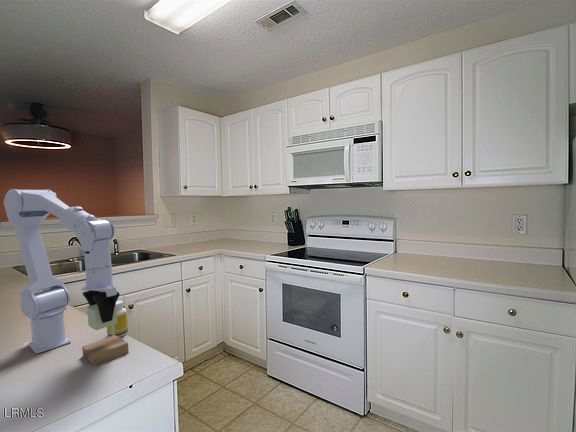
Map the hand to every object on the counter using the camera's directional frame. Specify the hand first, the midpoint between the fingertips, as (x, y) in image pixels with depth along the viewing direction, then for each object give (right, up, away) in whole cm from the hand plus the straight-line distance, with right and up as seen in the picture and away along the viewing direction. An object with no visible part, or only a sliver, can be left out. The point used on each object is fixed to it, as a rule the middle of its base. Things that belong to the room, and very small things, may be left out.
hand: (102, 319), depth 79 cm
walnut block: (0, -10, +1) cm, 10 cm away
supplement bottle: (-3, -9, +12) cm, 16 cm away
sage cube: (0, -1, 0) cm, 1 cm away
